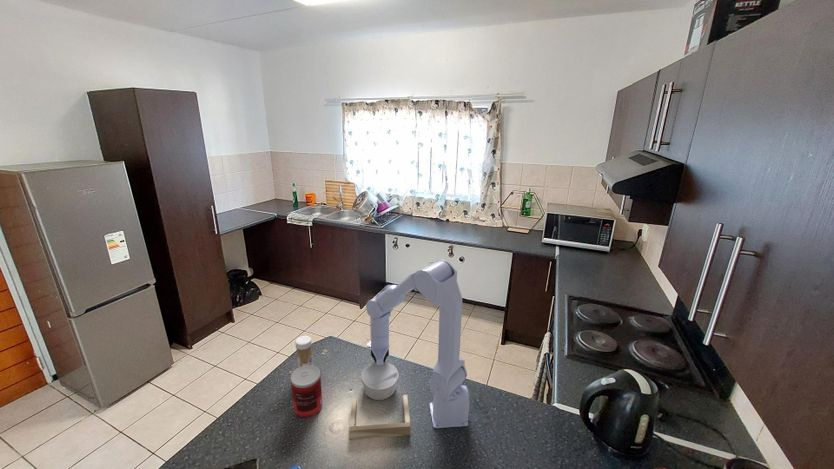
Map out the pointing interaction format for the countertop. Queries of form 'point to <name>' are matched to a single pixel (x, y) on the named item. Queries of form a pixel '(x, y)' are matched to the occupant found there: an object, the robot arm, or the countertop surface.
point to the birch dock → (379, 425)
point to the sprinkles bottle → (304, 351)
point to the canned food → (306, 390)
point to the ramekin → (379, 380)
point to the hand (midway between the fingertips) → (380, 367)
